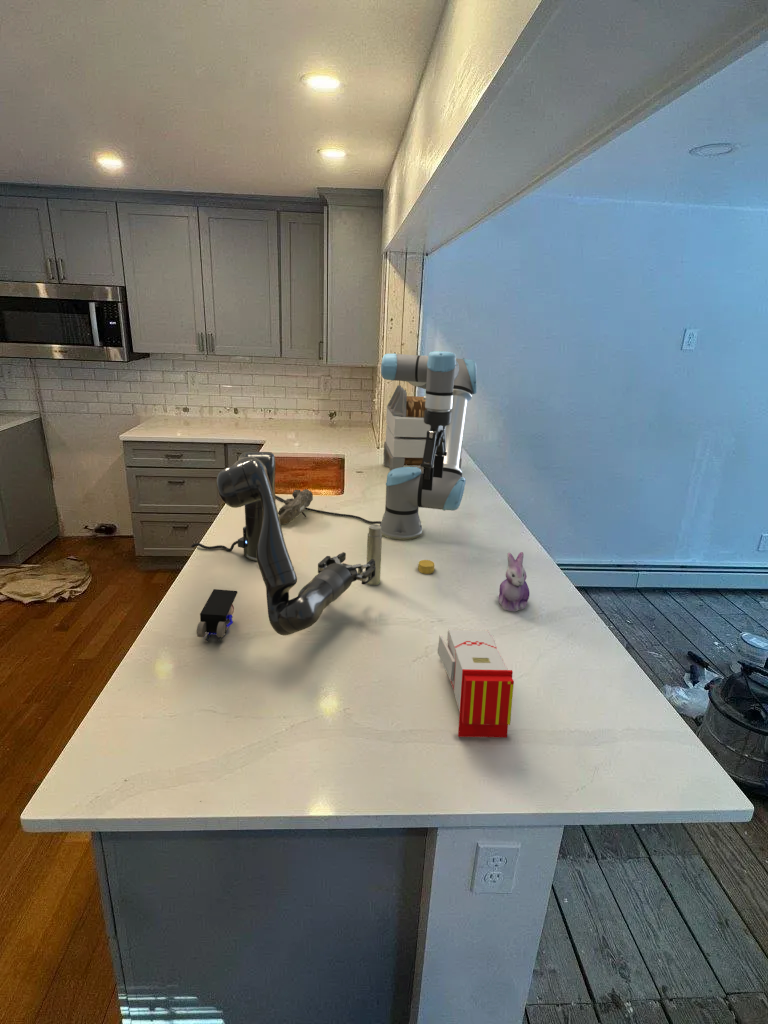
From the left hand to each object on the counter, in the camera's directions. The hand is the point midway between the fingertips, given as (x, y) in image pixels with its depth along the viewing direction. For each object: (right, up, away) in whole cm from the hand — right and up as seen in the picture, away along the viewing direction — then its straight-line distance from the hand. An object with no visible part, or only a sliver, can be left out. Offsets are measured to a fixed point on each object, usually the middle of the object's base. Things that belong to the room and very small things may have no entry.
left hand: (358, 558), depth 151 cm
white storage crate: (+24, +31, +123) cm, 130 cm away
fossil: (-26, +11, +60) cm, 66 cm away
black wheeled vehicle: (-33, -16, -15) cm, 40 cm away
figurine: (+42, -13, +3) cm, 44 cm away
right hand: (+21, +21, +12) cm, 32 cm away
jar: (+4, -8, +13) cm, 15 cm away
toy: (+25, -25, -33) cm, 48 cm away
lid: (+20, -3, +21) cm, 29 cm away
